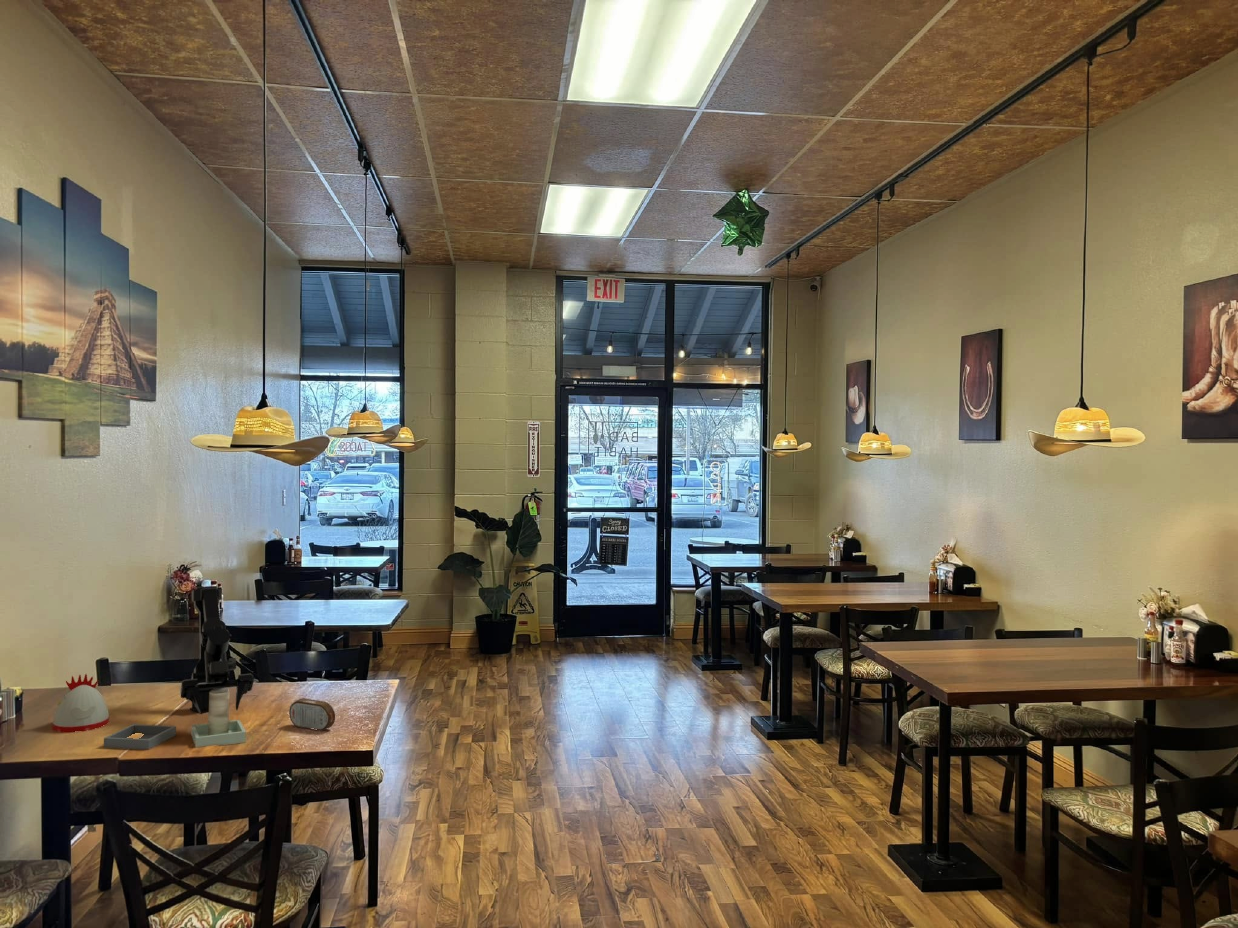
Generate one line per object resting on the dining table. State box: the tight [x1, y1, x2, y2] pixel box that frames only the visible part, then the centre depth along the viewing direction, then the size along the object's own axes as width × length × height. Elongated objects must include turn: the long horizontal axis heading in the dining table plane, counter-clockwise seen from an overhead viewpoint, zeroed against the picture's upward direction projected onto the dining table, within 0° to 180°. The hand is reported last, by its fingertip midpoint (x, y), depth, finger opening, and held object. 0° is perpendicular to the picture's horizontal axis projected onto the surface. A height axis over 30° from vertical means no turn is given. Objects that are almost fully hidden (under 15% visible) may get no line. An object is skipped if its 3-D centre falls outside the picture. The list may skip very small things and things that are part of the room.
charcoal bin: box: [103, 723, 177, 751], centre depth 231 cm, size 13×13×3 cm
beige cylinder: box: [207, 688, 231, 736], centre depth 236 cm, size 5×5×13 cm
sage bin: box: [190, 719, 247, 748], centre depth 236 cm, size 13×13×3 cm
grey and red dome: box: [52, 673, 110, 733], centre depth 245 cm, size 14×14×15 cm
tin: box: [288, 697, 336, 731], centre depth 249 cm, size 15×3×8 cm, turn 71°
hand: (219, 711), depth 236 cm, fingers open, 9 cm apart
